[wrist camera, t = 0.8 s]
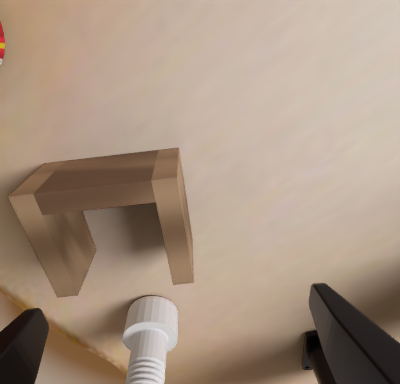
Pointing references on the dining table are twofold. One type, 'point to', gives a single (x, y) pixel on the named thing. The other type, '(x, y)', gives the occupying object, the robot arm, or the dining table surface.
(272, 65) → the dining table surface
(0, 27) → the beverage can
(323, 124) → the dining table surface
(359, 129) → the dining table surface
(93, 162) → the slot bracket
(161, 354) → the bolt
